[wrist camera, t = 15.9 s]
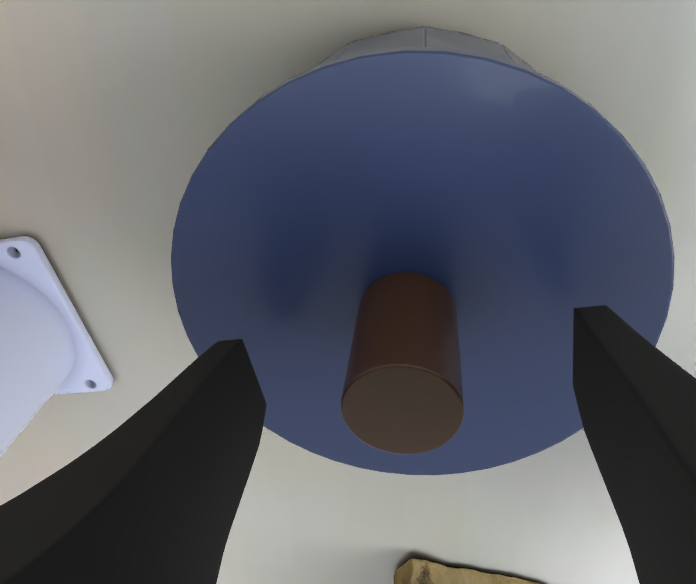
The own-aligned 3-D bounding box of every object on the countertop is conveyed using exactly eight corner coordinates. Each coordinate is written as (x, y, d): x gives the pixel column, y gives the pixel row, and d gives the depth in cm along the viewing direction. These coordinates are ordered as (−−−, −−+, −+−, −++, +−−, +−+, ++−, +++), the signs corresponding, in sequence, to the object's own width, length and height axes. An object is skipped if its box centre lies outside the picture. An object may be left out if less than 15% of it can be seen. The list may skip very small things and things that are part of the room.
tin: (301, 342, 23) (263, 461, 18) (217, 67, 18) (124, 121, 12) (580, 317, 21) (632, 446, 16) (586, -10, 15) (673, 16, 10)
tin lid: (259, 455, 19) (216, 584, 15) (112, 98, 13) (-24, 164, 9) (638, 438, 16) (703, 589, 12) (686, -18, 10) (840, 5, 6)
